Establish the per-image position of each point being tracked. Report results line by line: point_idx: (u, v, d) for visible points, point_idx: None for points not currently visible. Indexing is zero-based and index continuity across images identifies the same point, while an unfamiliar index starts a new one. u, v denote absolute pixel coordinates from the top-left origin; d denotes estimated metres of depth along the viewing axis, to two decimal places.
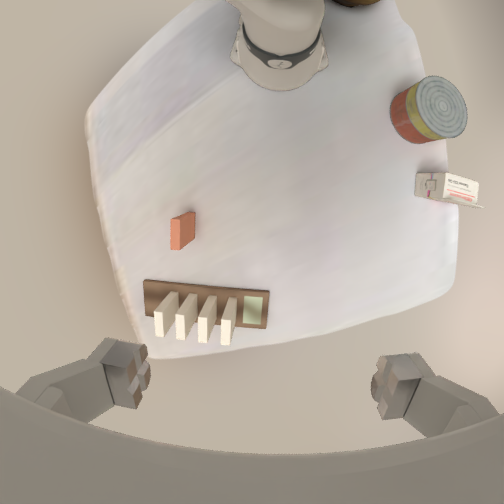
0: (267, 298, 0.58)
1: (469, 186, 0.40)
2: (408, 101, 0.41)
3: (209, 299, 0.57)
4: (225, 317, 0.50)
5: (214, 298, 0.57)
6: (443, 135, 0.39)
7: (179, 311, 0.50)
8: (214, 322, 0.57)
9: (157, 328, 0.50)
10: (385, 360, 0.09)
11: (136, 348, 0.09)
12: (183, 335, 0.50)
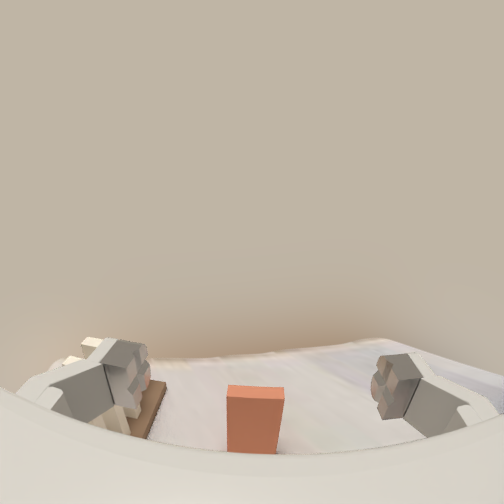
0: None
1: None
2: None
3: None
4: None
5: None
6: None
7: None
8: None
9: (97, 341, 0.28)
10: (385, 360, 0.09)
11: (136, 348, 0.09)
12: None
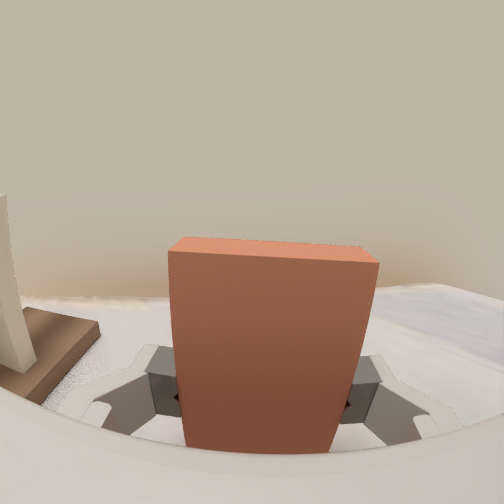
0: None
1: None
2: None
3: None
4: None
5: None
6: None
7: None
8: None
9: None
10: None
11: None
12: None
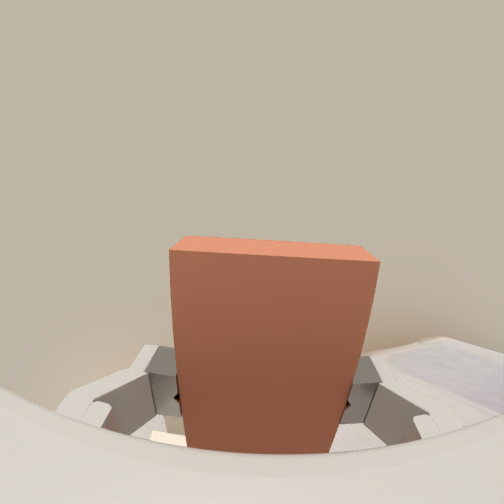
0: None
1: None
2: None
3: None
4: None
5: None
6: None
7: None
8: None
9: None
10: None
11: None
12: None
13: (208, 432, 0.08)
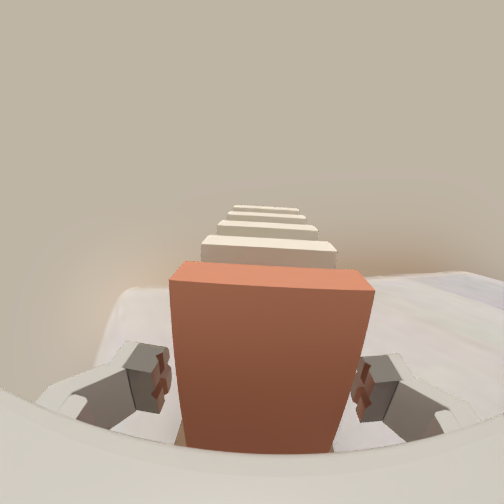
0: None
1: None
2: None
3: None
4: None
5: None
6: None
7: None
8: None
9: (255, 206, 0.23)
10: (363, 361, 0.09)
11: (159, 352, 0.09)
12: (242, 214, 0.19)
13: (209, 445, 0.09)
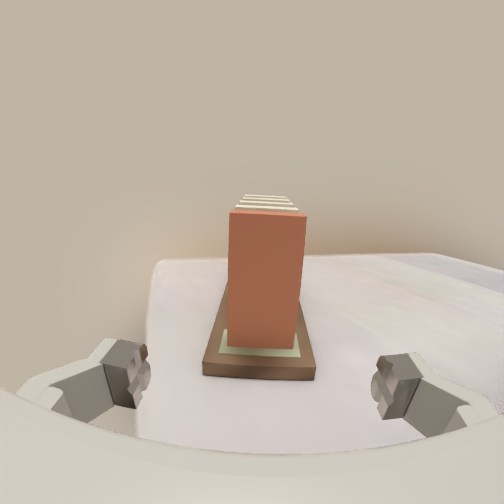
0: (299, 365, 0.20)
1: None
2: None
3: None
4: None
5: None
6: None
7: None
8: None
9: (258, 195, 0.36)
10: (385, 360, 0.09)
11: (136, 348, 0.09)
12: (251, 198, 0.31)
13: (239, 300, 0.21)
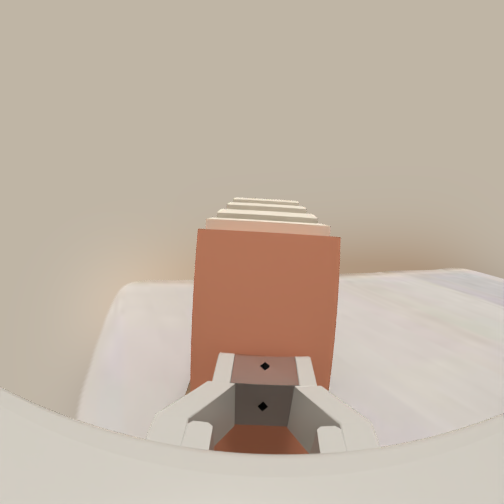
0: None
1: None
2: None
3: None
4: None
5: None
6: None
7: None
8: None
9: None
10: (264, 361, 0.09)
11: (261, 362, 0.09)
12: (242, 204, 0.19)
13: None
